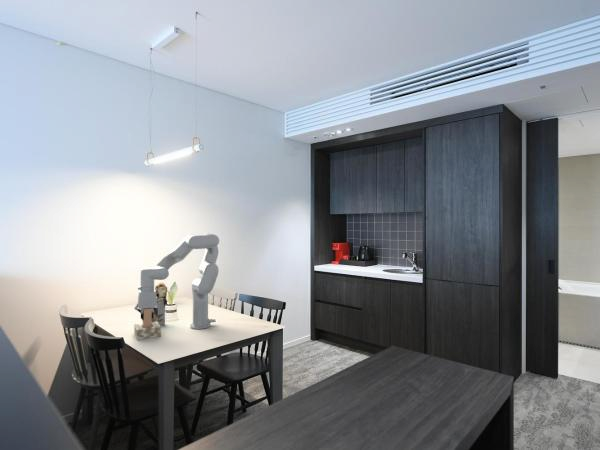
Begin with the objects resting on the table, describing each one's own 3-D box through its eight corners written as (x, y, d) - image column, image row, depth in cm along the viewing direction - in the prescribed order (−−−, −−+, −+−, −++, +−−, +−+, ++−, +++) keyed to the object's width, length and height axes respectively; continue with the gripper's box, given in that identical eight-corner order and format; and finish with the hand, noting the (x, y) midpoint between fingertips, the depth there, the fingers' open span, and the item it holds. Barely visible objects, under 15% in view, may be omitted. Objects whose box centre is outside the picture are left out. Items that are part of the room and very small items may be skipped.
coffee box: (165, 324, 239) (165, 299, 239) (157, 326, 233) (157, 301, 233) (155, 322, 243) (155, 298, 243) (147, 325, 237) (147, 300, 237)
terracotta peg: (151, 328, 215) (151, 308, 215) (143, 329, 213) (144, 309, 213) (150, 326, 220) (150, 306, 220) (142, 327, 218) (142, 307, 218)
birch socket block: (157, 330, 226) (157, 321, 226) (160, 336, 214) (160, 327, 214) (134, 333, 219) (134, 324, 219) (136, 339, 208) (136, 330, 208)
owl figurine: (148, 302, 300) (148, 282, 300) (162, 300, 308) (162, 280, 308) (157, 306, 287) (157, 284, 287) (172, 304, 296) (172, 283, 296)
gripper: (132, 290, 209) (132, 322, 209) (163, 288, 217) (163, 319, 217) (131, 288, 215) (130, 319, 216) (161, 286, 224) (160, 316, 224)
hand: (147, 319), depth 217 cm, fingers closed on terracotta peg, 4 cm apart
